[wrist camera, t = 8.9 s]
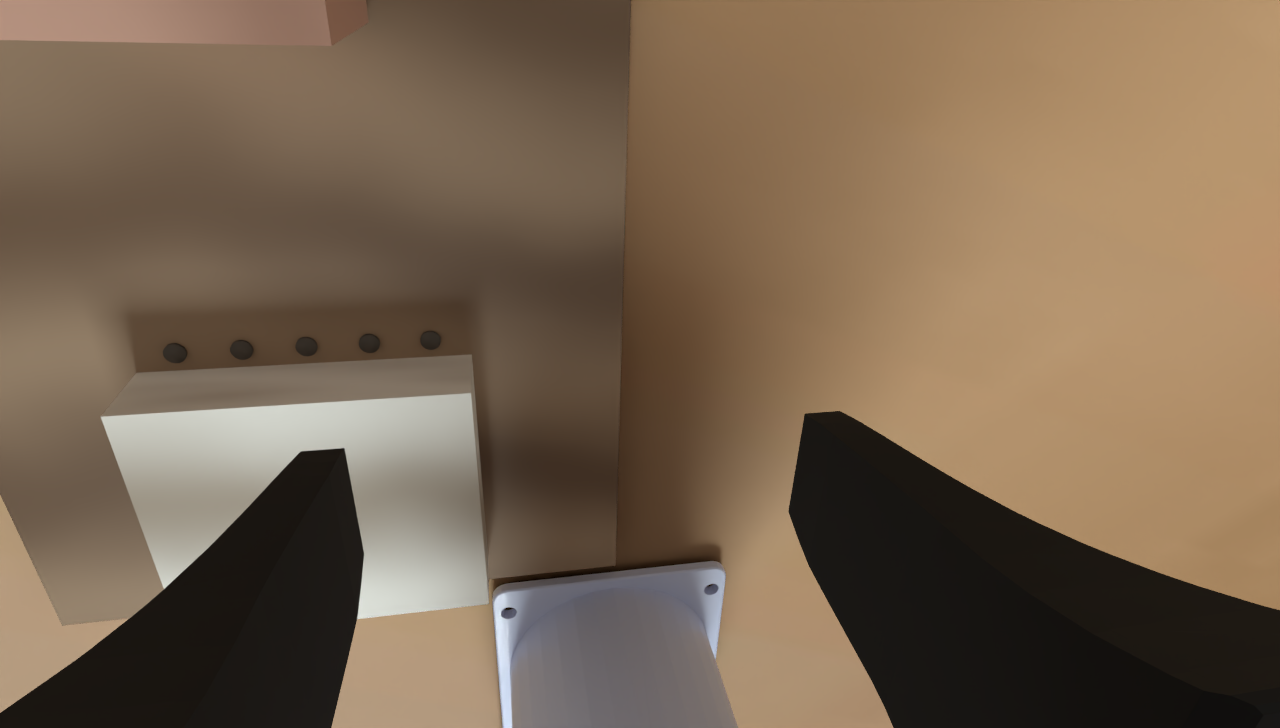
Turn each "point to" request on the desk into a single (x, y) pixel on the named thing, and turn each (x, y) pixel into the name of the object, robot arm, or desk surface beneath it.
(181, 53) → the ticket board
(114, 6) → the tall pink cuboid
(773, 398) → the desk surface
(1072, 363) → the desk surface
